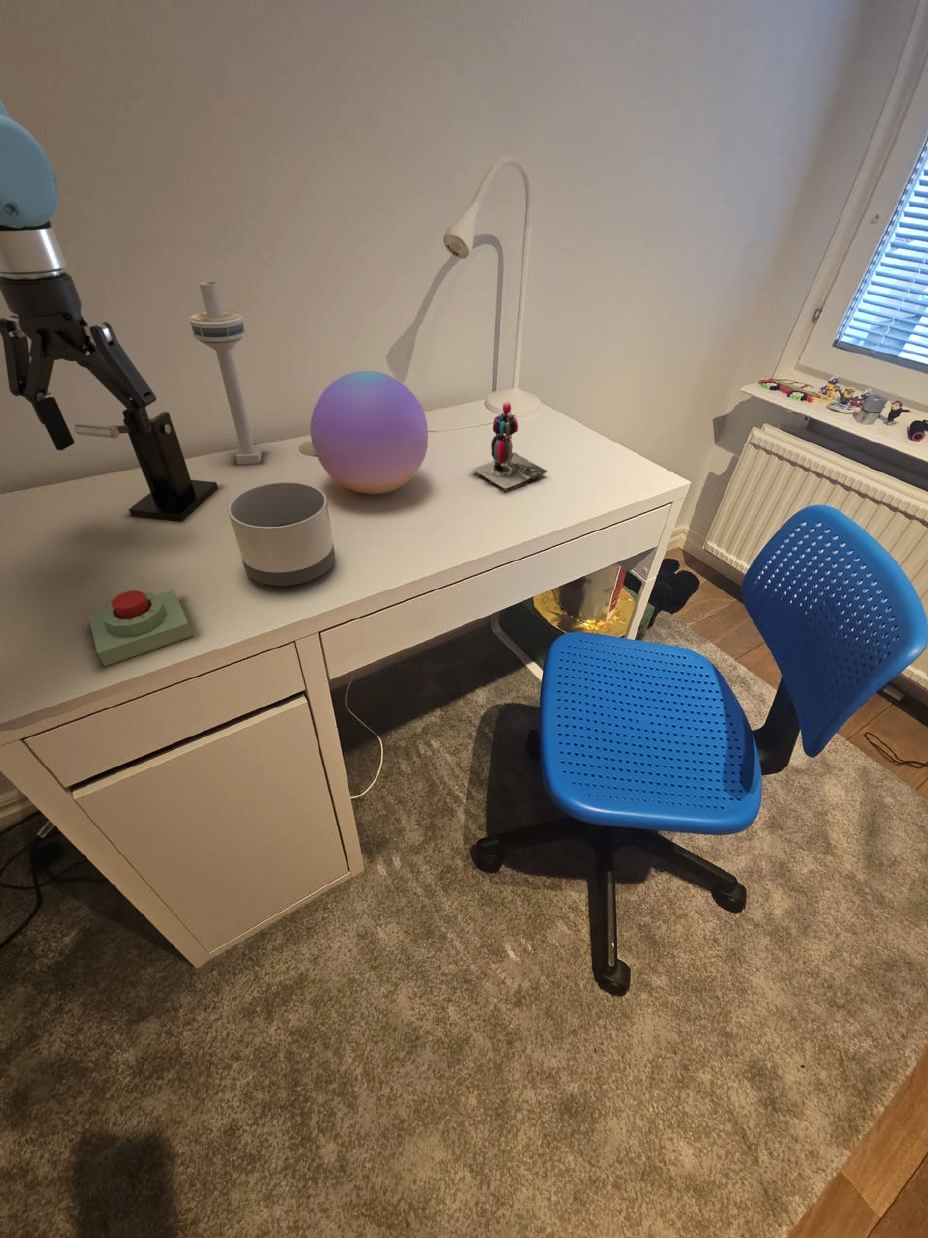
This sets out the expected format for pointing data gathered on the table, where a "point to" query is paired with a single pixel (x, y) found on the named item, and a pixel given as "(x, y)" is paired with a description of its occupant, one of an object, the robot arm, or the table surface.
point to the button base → (139, 628)
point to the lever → (101, 430)
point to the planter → (283, 532)
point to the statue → (507, 456)
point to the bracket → (168, 477)
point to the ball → (369, 432)
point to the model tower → (226, 361)
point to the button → (130, 604)
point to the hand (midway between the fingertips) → (106, 450)
